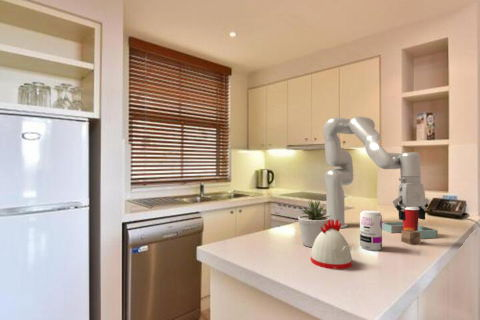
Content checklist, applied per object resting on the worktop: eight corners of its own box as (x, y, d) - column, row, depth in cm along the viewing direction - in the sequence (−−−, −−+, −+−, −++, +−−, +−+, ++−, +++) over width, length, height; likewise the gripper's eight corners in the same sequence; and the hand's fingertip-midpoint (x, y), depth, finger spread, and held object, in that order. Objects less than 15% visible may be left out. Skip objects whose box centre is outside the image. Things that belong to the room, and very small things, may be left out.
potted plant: (336, 249, 113) (336, 199, 113) (303, 249, 112) (302, 200, 112) (324, 240, 125) (324, 196, 126) (294, 241, 125) (294, 196, 125)
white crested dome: (360, 266, 94) (360, 222, 94) (325, 271, 90) (325, 225, 90) (335, 254, 107) (335, 215, 107) (303, 257, 103) (303, 217, 103)
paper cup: (413, 233, 139) (412, 204, 139) (423, 236, 131) (423, 207, 131) (397, 233, 139) (397, 204, 139) (407, 236, 131) (407, 207, 131)
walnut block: (410, 244, 119) (409, 233, 119) (401, 241, 124) (401, 230, 124) (420, 244, 120) (420, 232, 120) (411, 241, 125) (411, 229, 125)
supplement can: (380, 246, 117) (380, 210, 117) (383, 252, 109) (383, 213, 109) (359, 244, 120) (359, 209, 120) (361, 250, 112) (360, 212, 112)
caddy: (409, 239, 127) (409, 231, 127) (381, 229, 146) (381, 222, 146) (437, 237, 130) (437, 230, 130) (406, 228, 149) (406, 221, 149)
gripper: (399, 181, 117) (400, 222, 116) (435, 180, 120) (436, 220, 119) (387, 180, 124) (388, 219, 124) (420, 179, 127) (422, 217, 127)
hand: (412, 219), depth 121 cm, fingers open, 9 cm apart
